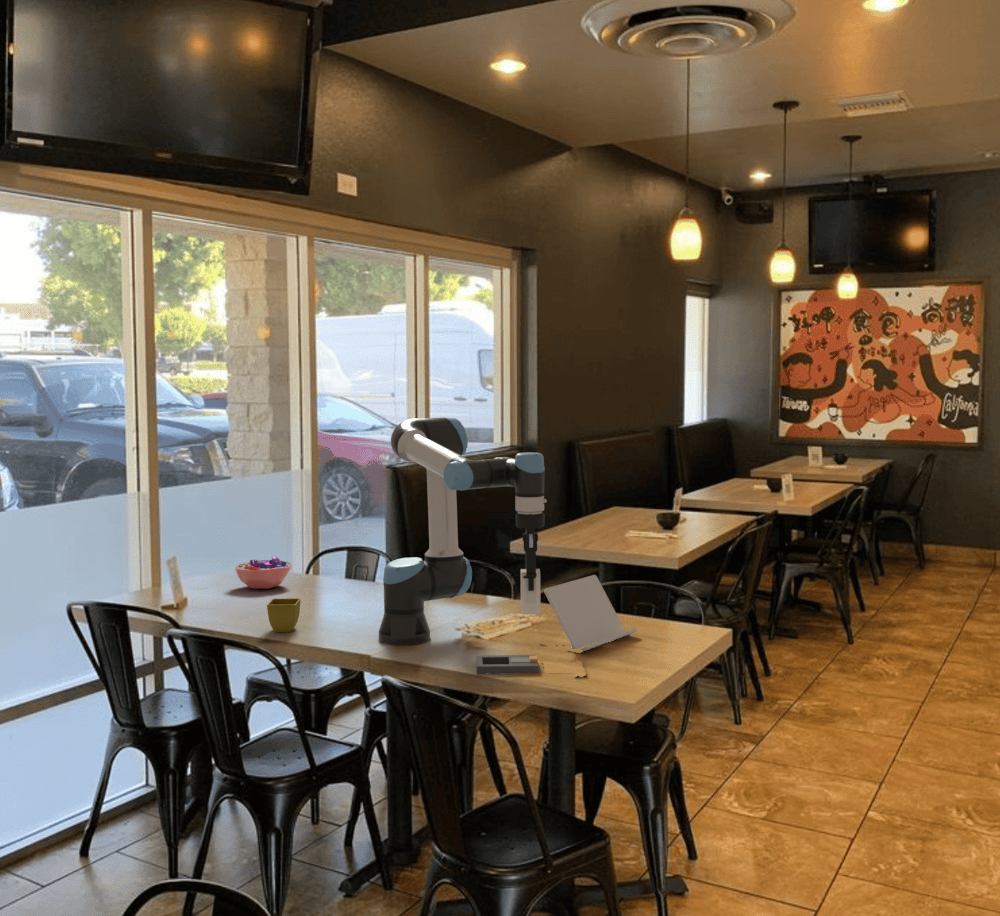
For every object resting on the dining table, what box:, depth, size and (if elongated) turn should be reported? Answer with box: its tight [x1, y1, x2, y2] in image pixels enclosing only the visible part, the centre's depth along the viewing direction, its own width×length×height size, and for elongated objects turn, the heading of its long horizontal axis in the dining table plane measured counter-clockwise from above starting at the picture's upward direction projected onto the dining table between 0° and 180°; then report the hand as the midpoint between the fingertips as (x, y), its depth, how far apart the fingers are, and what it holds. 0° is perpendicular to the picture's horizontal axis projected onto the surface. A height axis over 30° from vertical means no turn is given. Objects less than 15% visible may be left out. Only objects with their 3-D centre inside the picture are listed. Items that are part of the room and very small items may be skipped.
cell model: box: [234, 555, 293, 590], centre depth 378 cm, size 17×20×11 cm
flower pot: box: [266, 597, 301, 633], centre depth 321 cm, size 9×9×9 cm
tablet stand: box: [543, 574, 638, 652], centre depth 308 cm, size 18×25×17 cm
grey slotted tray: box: [476, 654, 540, 675], centre depth 279 cm, size 16×10×4 cm, turn 92°
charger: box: [520, 568, 541, 615], centre depth 277 cm, size 5×4×12 cm
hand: (530, 600), depth 277 cm, fingers closed on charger, 4 cm apart
